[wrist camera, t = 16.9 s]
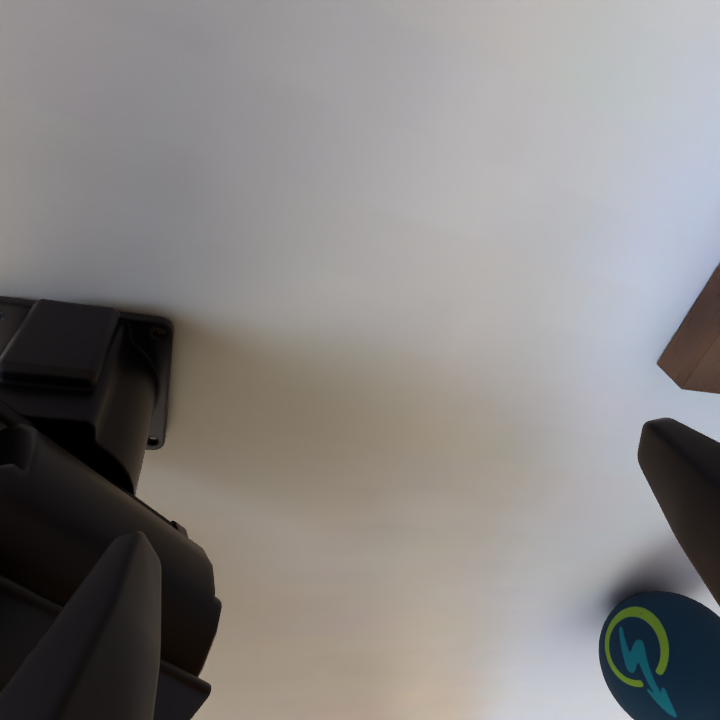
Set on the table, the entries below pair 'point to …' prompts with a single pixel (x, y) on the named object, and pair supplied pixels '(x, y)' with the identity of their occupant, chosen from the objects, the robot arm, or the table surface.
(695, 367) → the walnut board
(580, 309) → the table surface
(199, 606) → the robot arm
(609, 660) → the christmas ornament
